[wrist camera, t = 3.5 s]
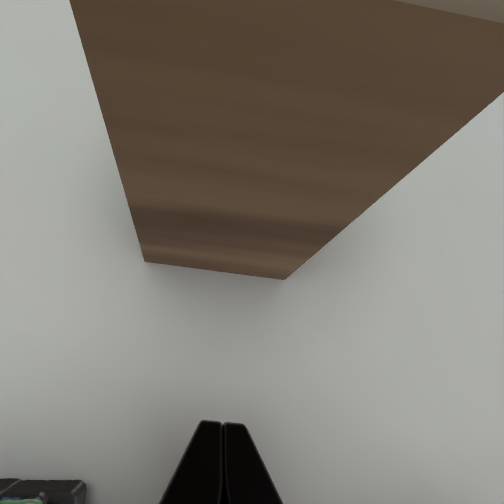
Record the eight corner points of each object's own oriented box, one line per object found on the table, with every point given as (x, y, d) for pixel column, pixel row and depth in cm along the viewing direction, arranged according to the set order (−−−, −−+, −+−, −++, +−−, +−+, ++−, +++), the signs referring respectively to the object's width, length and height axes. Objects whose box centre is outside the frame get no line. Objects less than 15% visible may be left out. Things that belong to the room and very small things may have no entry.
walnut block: (284, 279, 17) (667, -48, 4) (144, 261, 17) (9, -207, 3) (294, 154, 18) (608, -422, 5) (165, 132, 18) (133, -587, 4)
